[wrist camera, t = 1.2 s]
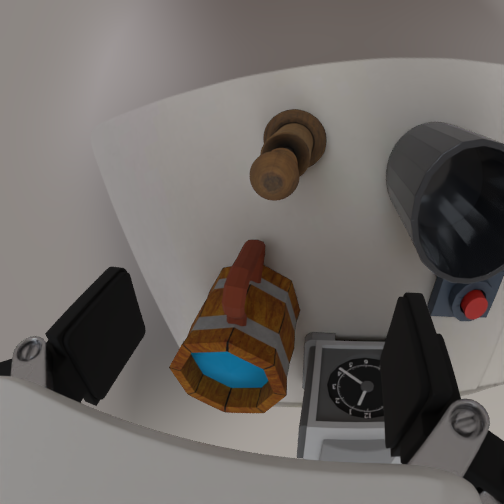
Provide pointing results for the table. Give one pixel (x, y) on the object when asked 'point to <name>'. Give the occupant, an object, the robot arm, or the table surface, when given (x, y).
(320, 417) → the alarm clock
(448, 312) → the housing
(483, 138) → the grey open cylinder
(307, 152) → the mortar and pestle
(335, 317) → the table surface
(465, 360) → the table surface
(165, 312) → the table surface
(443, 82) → the table surface
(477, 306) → the button
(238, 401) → the mug
